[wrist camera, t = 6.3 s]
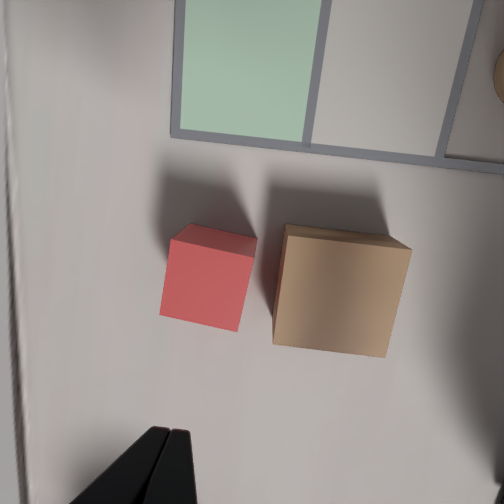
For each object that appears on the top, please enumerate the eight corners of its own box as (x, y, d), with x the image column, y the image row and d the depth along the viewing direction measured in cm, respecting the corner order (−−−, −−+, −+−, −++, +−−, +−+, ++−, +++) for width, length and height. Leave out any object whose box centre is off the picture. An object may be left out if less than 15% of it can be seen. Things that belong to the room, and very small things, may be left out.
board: (655, -45, 15) (661, -48, 14) (572, 181, 17) (575, 182, 17) (180, -91, 15) (178, -94, 15) (171, 137, 18) (170, 137, 18)
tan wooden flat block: (390, 236, 19) (412, 249, 16) (368, 329, 20) (385, 358, 17) (285, 223, 19) (288, 235, 16) (272, 318, 20) (272, 344, 18)
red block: (254, 257, 15) (170, 239, 15) (237, 332, 16) (159, 314, 16) (257, 238, 19) (190, 223, 19) (243, 299, 20) (180, 285, 20)
